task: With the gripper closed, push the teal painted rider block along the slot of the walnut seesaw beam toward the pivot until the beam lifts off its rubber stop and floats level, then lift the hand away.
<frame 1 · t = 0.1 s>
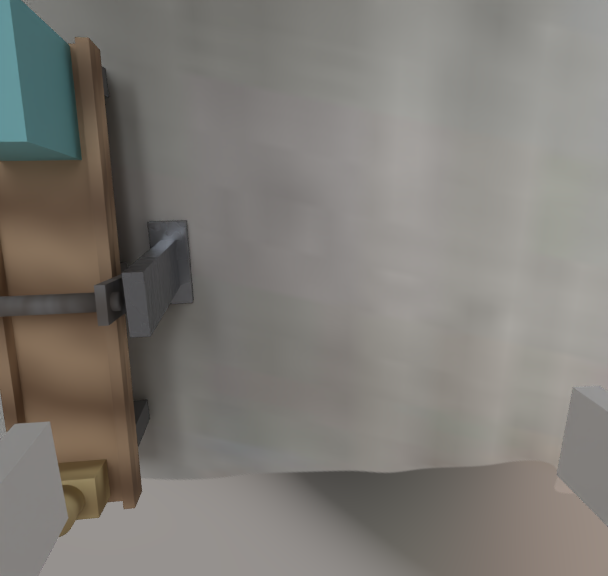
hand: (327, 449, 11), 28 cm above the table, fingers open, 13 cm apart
rider: (35, 104, 28), point 6 cm above the table, tilted 7°, touching beam
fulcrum: (92, 264, 36), on the table
beam: (60, 292, 30), point 7 cm above the table, hinge at -6.7°, touching rider, stop arm side
stop far side: (115, 411, 40), on the table
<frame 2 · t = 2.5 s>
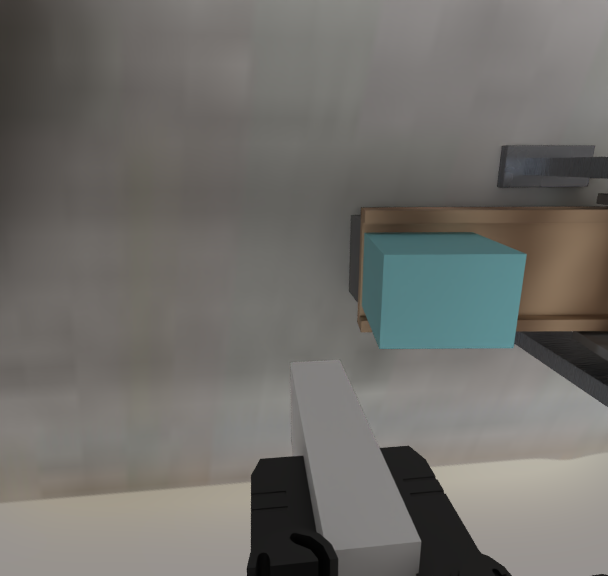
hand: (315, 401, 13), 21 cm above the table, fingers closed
stop arm side: (362, 253, 34), on the table
rider: (415, 269, 29), point 6 cm above the table, tilted 7°, touching beam
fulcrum: (530, 249, 35), on the table
beam: (598, 267, 29), point 7 cm above the table, hinge at -6.7°, touching rider, stop arm side
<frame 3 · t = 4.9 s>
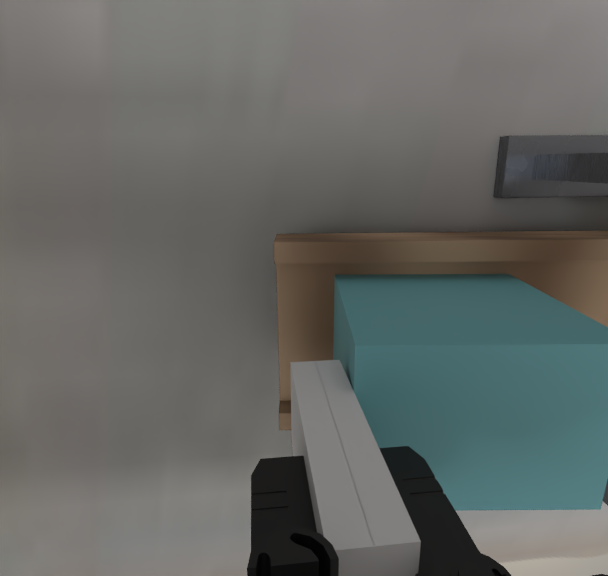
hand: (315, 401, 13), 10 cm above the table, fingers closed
rider: (417, 332, 18), point 6 cm above the table, tilted 7°, touching gripper
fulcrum: (541, 284, 25), on the table
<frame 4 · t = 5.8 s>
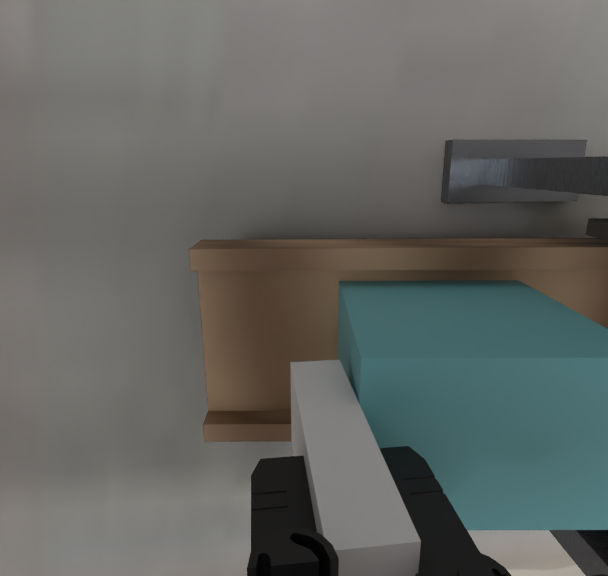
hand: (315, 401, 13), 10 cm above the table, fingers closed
rider: (423, 339, 18), point 6 cm above the table, tilted 7°, touching beam, gripper
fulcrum: (493, 291, 24), on the table
beam: (589, 335, 18), point 7 cm above the table, hinge at -6.7°, touching rider
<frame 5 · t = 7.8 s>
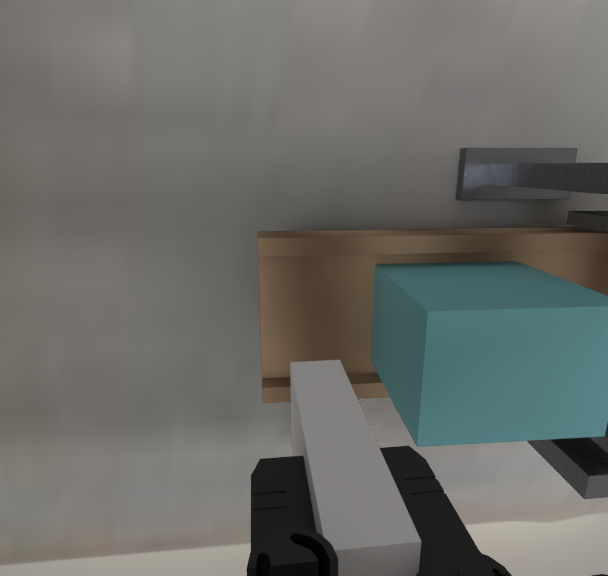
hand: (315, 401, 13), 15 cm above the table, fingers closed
rider: (441, 311, 21), point 7 cm above the table, touching beam
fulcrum: (499, 275, 29), on the table
beam: (569, 305, 22), point 7 cm above the table, hinge at -1.2°, touching rider
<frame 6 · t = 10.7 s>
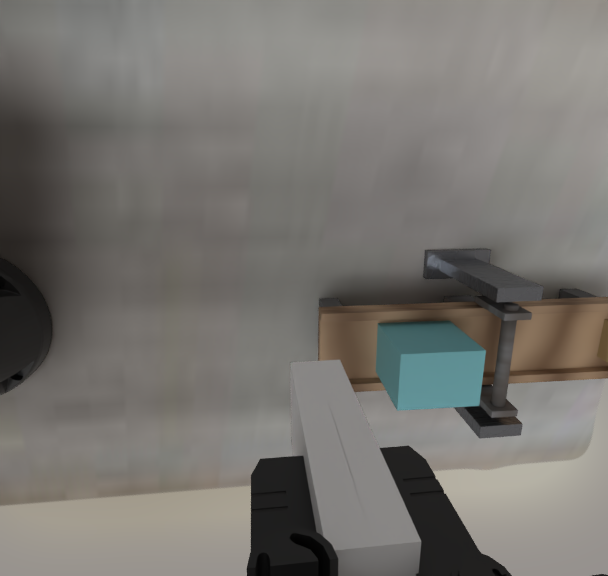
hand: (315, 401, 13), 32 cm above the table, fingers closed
stop arm side: (328, 324, 47), on the table
rider: (412, 346, 42), point 7 cm above the table, touching beam
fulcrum: (449, 318, 49), on the table
beam: (479, 341, 43), point 7 cm above the table, hinge at -1.0°, touching rider
stop far side: (564, 313, 51), on the table
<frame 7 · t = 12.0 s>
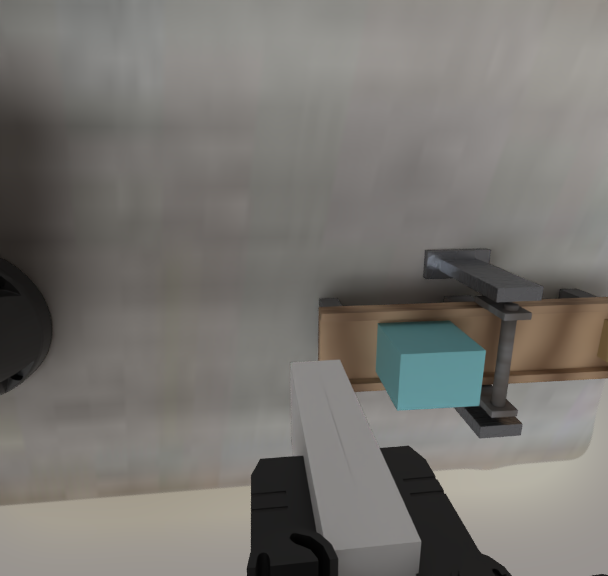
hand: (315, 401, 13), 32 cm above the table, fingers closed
stop arm side: (328, 324, 47), on the table
rider: (412, 346, 42), point 7 cm above the table, touching beam
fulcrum: (449, 318, 49), on the table
beam: (479, 341, 43), point 7 cm above the table, hinge at -1.0°, touching rider
stop far side: (564, 313, 51), on the table
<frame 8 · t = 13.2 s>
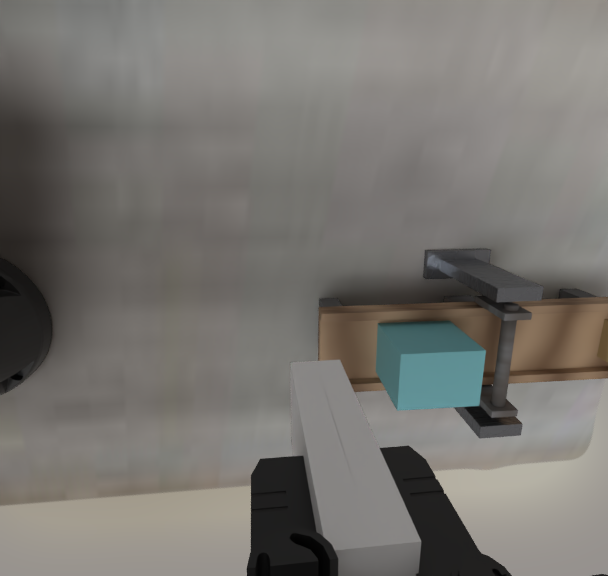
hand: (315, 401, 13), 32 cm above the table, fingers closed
stop arm side: (328, 324, 47), on the table
rider: (412, 346, 42), point 7 cm above the table, touching beam
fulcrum: (449, 318, 49), on the table
beam: (479, 341, 43), point 7 cm above the table, hinge at -1.0°, touching rider
stop far side: (564, 313, 51), on the table
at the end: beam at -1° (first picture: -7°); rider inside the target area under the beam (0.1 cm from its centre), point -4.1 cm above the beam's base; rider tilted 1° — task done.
